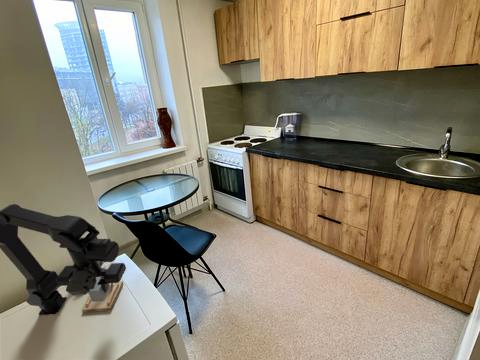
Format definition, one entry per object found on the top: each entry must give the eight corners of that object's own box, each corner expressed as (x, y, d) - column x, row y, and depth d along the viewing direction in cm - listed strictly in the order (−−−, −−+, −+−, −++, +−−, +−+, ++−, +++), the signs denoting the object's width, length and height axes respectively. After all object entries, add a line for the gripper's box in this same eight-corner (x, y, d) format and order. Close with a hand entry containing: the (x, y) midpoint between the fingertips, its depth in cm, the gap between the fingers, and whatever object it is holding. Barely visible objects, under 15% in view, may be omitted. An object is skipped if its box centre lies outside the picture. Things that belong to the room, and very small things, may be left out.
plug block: (92, 301, 80) (87, 291, 77) (100, 288, 84) (95, 277, 82) (103, 301, 80) (98, 290, 77) (110, 287, 84) (106, 277, 82)
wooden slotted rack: (82, 311, 87) (77, 302, 85) (97, 285, 97) (92, 275, 94) (111, 309, 87) (106, 299, 85) (123, 283, 97) (119, 273, 94)
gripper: (33, 280, 67) (56, 317, 74) (103, 277, 67) (119, 313, 74) (58, 250, 77) (77, 285, 84) (119, 247, 77) (132, 282, 84)
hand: (100, 292), depth 81 cm, fingers closed on plug block, 3 cm apart
